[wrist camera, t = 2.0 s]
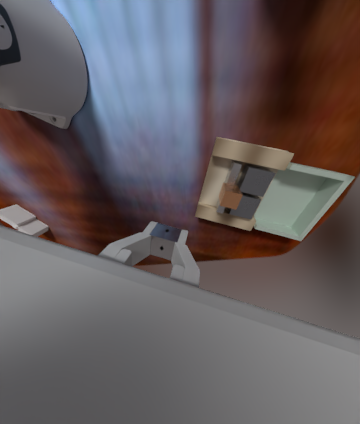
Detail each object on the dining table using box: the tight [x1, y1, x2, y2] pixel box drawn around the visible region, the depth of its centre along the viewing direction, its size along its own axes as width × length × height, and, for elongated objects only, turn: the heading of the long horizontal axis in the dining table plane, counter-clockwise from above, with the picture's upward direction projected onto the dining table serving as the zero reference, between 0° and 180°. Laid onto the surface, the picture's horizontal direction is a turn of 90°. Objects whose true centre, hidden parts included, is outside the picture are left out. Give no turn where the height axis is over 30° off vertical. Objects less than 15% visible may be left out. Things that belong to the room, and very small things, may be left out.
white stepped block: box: [0, 205, 49, 237], centre depth 43 cm, size 15×11×6 cm
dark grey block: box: [237, 164, 276, 197], centre depth 23 cm, size 4×4×3 cm
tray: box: [254, 162, 355, 241], centre depth 24 cm, size 8×12×4 cm
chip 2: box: [228, 192, 261, 219], centre depth 25 cm, size 4×4×3 cm
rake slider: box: [216, 161, 243, 214], centre depth 22 cm, size 2×9×7 cm, turn 170°
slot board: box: [195, 137, 294, 231], centre depth 25 cm, size 12×15×3 cm
